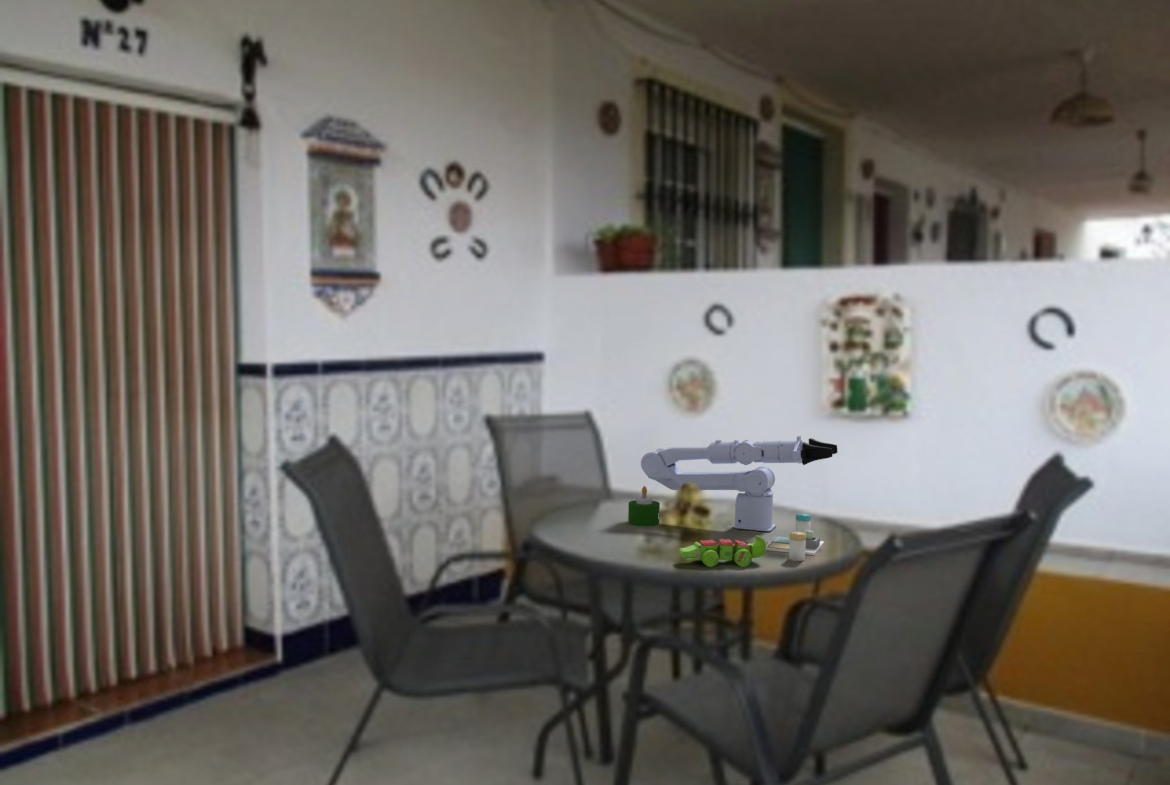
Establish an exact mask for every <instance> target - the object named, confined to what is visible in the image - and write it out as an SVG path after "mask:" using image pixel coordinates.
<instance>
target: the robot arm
mask: <svg viewBox="0 0 1170 785" xmlns="http://www.w3.org/2000/svg"><path fill="white" fill-rule="evenodd" d="M836 454H838V445H837V444H834V443H828V442H823V441H819V440H817V439H815V438H812V437H810V438H808V442H805V441H803V440H802V436H801V435H797V436H796V440H764V441H753V440H748V439H745V440H742V441H741V442H740V441H739V439H734V440H733V441H722V439H716V440H715V441H713V442H711V443H709V445H708V446H706V447H705V446H704V447H703V446H671V447H666V448H658V449H656V450H654V451H649V452H647V453H645V454H644V455H643V456H642V458H641V459H640V466H641V467H640V468H641V469H642V471H643V472H644V474H645V475H646V476H647V478H648V479H650V480H653V481H656V482H657V483H659V484H660V485H663V486H664V487H666V488H667V489H669V490H673V491H681V490H680V487H681V486H682V484H683V483H687V482H692V483H696V484H697V485H698V486H699V489H700V490H699V491H738V493H737V495H736V498H735V504H734V506H735V508H734V509H735V511H734V526H733V528H734V529H740V530H749V531H750V530H751V531H761V532H771V531H772V530H773V529H775V528H776V527H777V524H774V523H773V508H774V495H773V494H774V492H773V491H772V489H771V488H772V487H773V486H774V484H775V481H776V478H775V474H774V472H773V471H772V469H770V468H769V467H766V466H758V467H757V468H755V469H752V470H749V469H748V470H740V471H693V472H692V471H687V472H686V471H683V472H682V471H681V469H680V468H679V467H678V466H677V463H678V462H680V461H694V460H708V461H709V462H710V463H711V464H713V465H714V464H716V465H718V464H719V465H720V464H721V465H722V464H724V465H725V464H730V465H731V464H738V463H739V464H742V465H744V466H748V465H751V464H752V463H762V464H763V463H764V464H784V463H785V464H790V463H791V464H793V463H794V464H796V463H797V464H802V466H806V465H807V464H809V463H812V462H816V461H819V460H825V459H829V458H833V455H836Z"/></svg>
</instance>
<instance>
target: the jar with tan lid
mask: <svg viewBox="0 0 1170 785" xmlns="http://www.w3.org/2000/svg"><path fill="white" fill-rule="evenodd" d="M788 537H789V538H790V542H789V552H788V560H789V561H794V562H803V561H805V560H806V554H805V543H806V533H803V532H795V531H791V532H789V536H788Z"/></svg>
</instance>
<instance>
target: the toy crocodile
mask: <svg viewBox="0 0 1170 785" xmlns="http://www.w3.org/2000/svg"><path fill="white" fill-rule="evenodd" d="M766 545H767V544H766V541H765V539H764V538H762V537H761V536H759V535H755V540H754V541H753V542H751V543H746V542H745V541H740V540H737V539H734V541H733V542H732V540H731V539H729V538H728V539H724V538H720V539H718V541H717V542H716V541H715V540H713V539H709V540H707V539H705V540H702V539H700V540H699V541H695V542H694V543H693V544H692V545H689V546H686V547H679V549H678V554H680V555H681V557H682V558H683V559H685V561H701V562H702V563H703V564H704V565H705V566H707V567H709V568H711V567H712V568H713V567H715V566H717V565H718V564H719V560H720V561H734V562H735V564H736V565H737V566H739V567H744V568H745V567H748V566H750V565H751V563H752V561H753V559H758V558H761V557H763V556H764V554H765V553H766V551H767V550H766Z"/></svg>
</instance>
